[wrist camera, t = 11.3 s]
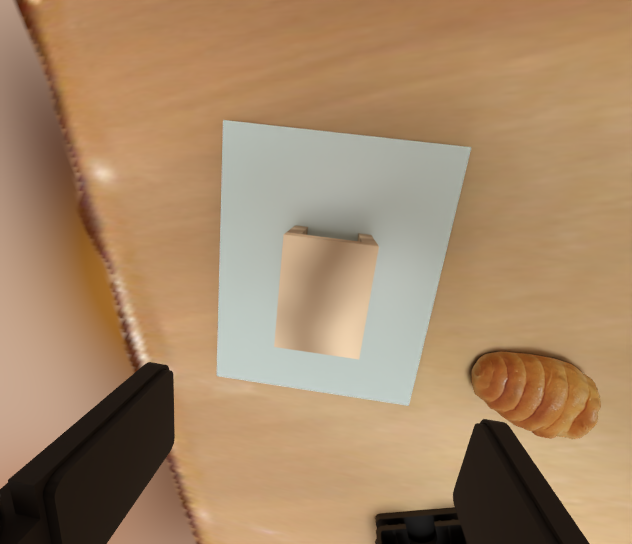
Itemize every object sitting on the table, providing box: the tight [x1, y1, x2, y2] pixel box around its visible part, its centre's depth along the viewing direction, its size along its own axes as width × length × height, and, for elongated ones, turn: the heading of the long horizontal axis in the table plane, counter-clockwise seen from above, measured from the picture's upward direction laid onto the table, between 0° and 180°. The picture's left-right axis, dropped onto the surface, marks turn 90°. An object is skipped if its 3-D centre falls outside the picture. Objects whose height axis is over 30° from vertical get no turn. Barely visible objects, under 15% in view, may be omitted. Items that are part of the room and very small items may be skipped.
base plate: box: [217, 120, 471, 406], centre depth 24 cm, size 18×22×4 cm
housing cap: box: [274, 225, 379, 359], centre depth 22 cm, size 6×8×5 cm
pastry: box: [472, 351, 601, 439], centre depth 25 cm, size 9×7×4 cm
